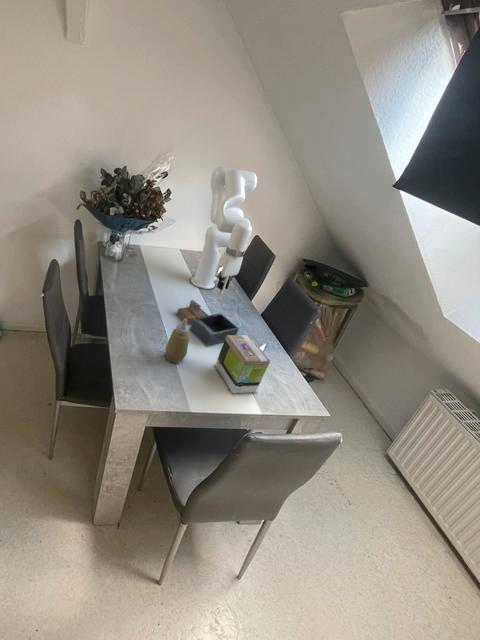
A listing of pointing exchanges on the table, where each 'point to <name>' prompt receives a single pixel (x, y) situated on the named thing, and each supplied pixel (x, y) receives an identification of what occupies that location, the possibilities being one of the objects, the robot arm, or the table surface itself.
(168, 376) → the table surface
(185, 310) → the tap block
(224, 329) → the sink basin
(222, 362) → the tea box
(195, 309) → the tap handle
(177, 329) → the squeeze bottle
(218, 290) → the marker
